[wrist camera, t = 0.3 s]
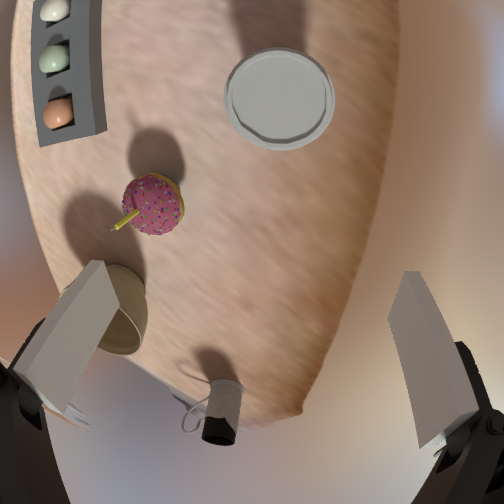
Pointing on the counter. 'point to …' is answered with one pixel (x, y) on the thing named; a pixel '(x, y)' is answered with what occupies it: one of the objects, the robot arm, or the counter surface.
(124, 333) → the planter bowl
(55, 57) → the sage button
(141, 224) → the cupcake
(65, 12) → the white rounded piece
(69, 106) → the terracotta button
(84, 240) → the counter surface
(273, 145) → the disposable coffee cup
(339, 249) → the counter surface
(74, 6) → the button panel
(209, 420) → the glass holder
